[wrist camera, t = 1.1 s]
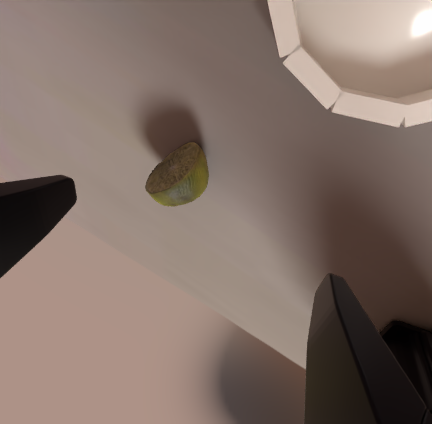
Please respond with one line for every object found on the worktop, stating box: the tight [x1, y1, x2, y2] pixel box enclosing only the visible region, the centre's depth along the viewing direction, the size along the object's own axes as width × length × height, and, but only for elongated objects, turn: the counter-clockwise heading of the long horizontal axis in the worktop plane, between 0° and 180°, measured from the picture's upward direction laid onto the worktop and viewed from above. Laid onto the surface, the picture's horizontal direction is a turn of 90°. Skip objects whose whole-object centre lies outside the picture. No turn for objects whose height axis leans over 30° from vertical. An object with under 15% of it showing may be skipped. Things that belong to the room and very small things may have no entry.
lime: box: [145, 142, 209, 206], centre depth 19 cm, size 4×5×5 cm
